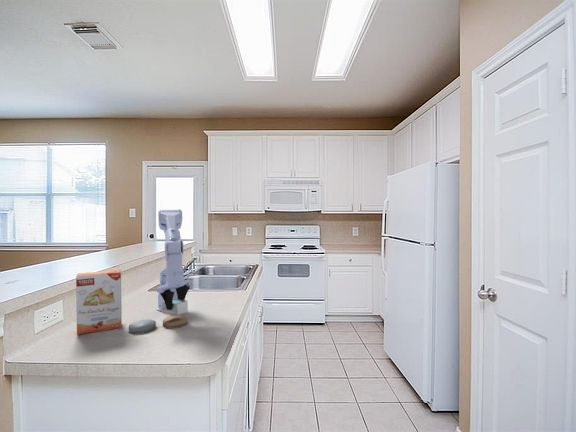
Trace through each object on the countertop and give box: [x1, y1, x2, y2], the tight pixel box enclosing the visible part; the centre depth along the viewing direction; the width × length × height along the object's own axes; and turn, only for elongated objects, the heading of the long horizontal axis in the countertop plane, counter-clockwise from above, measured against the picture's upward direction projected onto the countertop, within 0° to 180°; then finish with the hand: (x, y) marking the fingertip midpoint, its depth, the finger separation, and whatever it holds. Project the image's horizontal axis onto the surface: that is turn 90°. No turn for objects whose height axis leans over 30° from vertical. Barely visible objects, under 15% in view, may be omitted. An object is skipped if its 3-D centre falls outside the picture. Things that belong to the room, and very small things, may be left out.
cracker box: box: [75, 269, 123, 335], centre depth 115 cm, size 14×6×21 cm, turn 117°
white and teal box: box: [161, 298, 189, 316], centre depth 119 cm, size 8×5×4 cm, turn 62°
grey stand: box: [128, 319, 157, 334], centre depth 115 cm, size 9×9×2 cm
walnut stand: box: [162, 314, 189, 329], centre depth 119 cm, size 9×9×2 cm
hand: (175, 307), depth 119 cm, fingers closed on white and teal box, 5 cm apart
